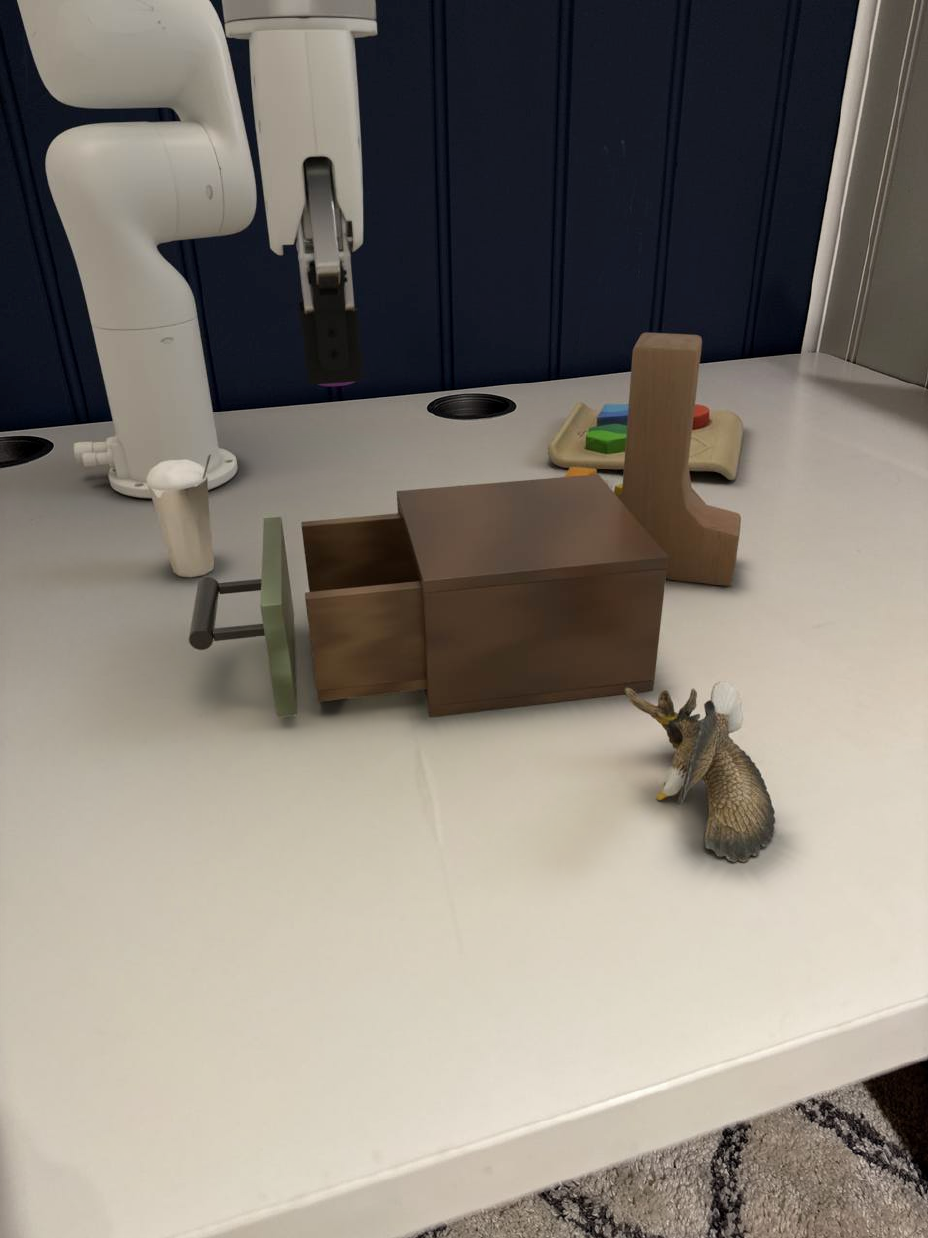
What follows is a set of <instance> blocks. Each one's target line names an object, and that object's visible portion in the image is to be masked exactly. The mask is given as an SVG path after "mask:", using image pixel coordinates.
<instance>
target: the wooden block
mask: <svg viewBox="0 0 928 1238" xmlns="http://www.w3.org/2000/svg"><path fill="white" fill-rule="evenodd" d="M702 346H703V339H702V336H700V335H698V334H686V333H685V334H684V333H665V332H643V333H641V334H640V336H639V337H638V339H637V341H636V342H635V345H634V347H633V349H632V354H631V367H630V368H631V369H630V383H629V395H628V404H629V407H628V420H627V433H626V446H625V460H624V469H623V475H622V484H623V486H622V500H621V502H622V503H623V504H624V505H625V506H626V508H627V509H628V510H629V511H630V512H631V513H632V515H633V516H634V517H635V518H636V519H637V521H638V522H639V523H640V524H641V525H642V527H643V528H644V529H645V530H646V531H647V532H648V534H649V535H650V536H651V537H652V538H653V540H654V541H655V542H656V543H657V544H658V545H659V547H660V548H661V549H662V550H663V551H664V553H665V554H666V555H667V556H668V562H667V568H666V569H667V571H666V580H673V581H681V582H690V583H699V584H708V585H715V586H716V585H717V586H725V587H727V586H731V585H732V584H733V582H734V576H735V569H736V562H737V556H738V549H739V543H740V536H741V535H740V534H741V523H742V521H741V520H742V517H741V514H740V513H738V512H735V511H731V510H728V509H724V508H720V507H716V506H713V505H709V504H707V503H706V502H705V501H704V499H703V498H702V497H701V496H700V495H699V494H698V493H697V492H696V491H695V490H694V489H693V487H692V481H691V475H690V474H691V473H690V471H689V468H688V461H689V452H690V444H691V435H692V426H693V417H694V408H695V404H696V398H697V388H698V382H699V374H700V373H699V372H700V363H701V355H702Z"/></svg>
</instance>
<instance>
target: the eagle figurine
mask: <svg viewBox="0 0 928 1238" xmlns="http://www.w3.org/2000/svg"><path fill="white" fill-rule="evenodd" d="M624 691H625V693H624V694H626V697H627V698H628V699H629V701H630V702H631V704H632V705H633V706H634V707H636V708H637V710H640V711H642V712H643V713H646V714H648V715H649V716H650V717H651V718H653V719H654V720H655V721H657V723H659V724H660V725H661V726H662V728H663V729H664V730H665V732H666V736H667V738H668V742H669V743H670V744H671V745H672V748H673V749H675V750H676V751H675V753H674V755H673V757H672V759H671V764H670V767H669V769H668V772H667V774H666V776H665V778H664V781H663V784H662V787H661V790H660V792H659V794H657V795H656V797H655V798H656V800H658V801H661V800H664V799H665V798H667V797H672V796H674V795H676V794H677V793H679V791H680V790H681V792H680V794H679V796H678V797H679V798H678V801H677V803H678V806H682V805H683V803H684V802H685V801H686V796H687V793H688V791H689V790H690V789H691V788H692V787H693V786H695V784H696V785H697V783H698V782H700V780H702V781H703V783H704V785H705V788H706V795H707V804H708V815H707V820H706V824H705V831H704V832H705V833H704V848H705V849H707V850H712V851H713V852H714V854H715V855H716V856H717V857H719V858H722V857H725V858H726V859H727V861H730V862H731V863H736V862H737V861H739V862H741V863H745V862H748V861H749V858H750V856H753V857H756V856H758V855H759V853H760V850H761V847H760V846H762V847H763V848H766V847H767V846H768V840H771V839H772V838H773V836H774V832H775V826H774V825H775V824H776V817H775V813H776V812H775V809H774V807H773V804H772V803H773V802H772V799H771V795H770V793H769V791H768V787H767V786H766V783H765V779H764V778H763V777H762V773H761V771H760V769H759V768H758V767H757V765H756V763H755V762H754V761H752V758H751V756H750V755H748V754H747V753H746V751H745V750H743V749H742V748H741V747H740V746H739V745H738V744H736V743H735V742H734V740H733V738H731V737H730V734H731V733H734V732H737V731H739V730H740V729H741V728H742V727H743V726H742V725H743V721H744V715H743V709H742V703H743V702H742V699H741V697H740V693H739V690H738V689H737V688H736V687H735V686H734V685H733V684H732V683H729V682H727V681H717V682H715V683H714V685H713V687H712V690H711V692H710V693H711V695H710V700H707V701H706V702H705V703H704V704H703V707H704V714H705V716H704V718H701V714H700V713H697V714H694V715H693V714H692V712H694V711H695V709H696V708H697V697H698V692H697V690H696V689H695V688H691V689H690V694H689V698H688V699H687V701H686V703H685V704H684V705H683V706H682V707H681V708H680V709H679V711H678V712H676V711H675V706H674V702H673V700H672V698H671V694H670V692H669V691H668V690H666V689H664V690H662V691H661V692H660V694H659V696H658V699H657V705H655V704H653V703H651V702H649V701H647V700H645V699H644V698H642V697H640V696H639V695H638V694H637V692H634V691H633V690H632V689H630V688H628V687H626V688H625V689H624ZM700 718H701V719H700Z"/></svg>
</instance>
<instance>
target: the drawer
mask: <svg viewBox="0 0 928 1238" xmlns="http://www.w3.org/2000/svg"><path fill="white" fill-rule="evenodd" d="M300 524H301V534H302V542H303V551H304V559H305V567H306V576H307V584H308V591H307V592H304V600H305V608H306V617H307V624H308V631H309V632H308V634H309V642H310V649H311V657H312V667H313V673H314V681H315V690H316V699H317V702H327V701H337V700H345V699H353V698H362V697H370V696H371V697H372V696H379V695H387V694H396V693H405V692H413V691H414V692H415V691H423V689H427V686H426V665H425V643H424V622H423V601H422V585H421V582H420V578H419V575H418V571H417V568H416V565H415V561H414V558H413V554H412V551H411V547H410V544H409V540H408V537H407V534H406V530H405V527H404V523H403V520H402V516H401V513H398V512H397V513H388V514H387V513H386V514H376V515H362V516H352V517H339V518H328V519H318V520H317V519H316V520H306V521H301V523H300ZM262 526H263V528H262V553H261V555H262V556H261V578H259V579H257V578H255V579H245V580H236V581H235V580H234V581H224V582H218V580H217V579H216V578H213V577H209V576H207V577H203V578H201V579H200V580H199V581H198V583H197V588H196V594H195V600H194V606H193V612H192V617H191V622H190V623H191V624H190V630H189V636H188V643H189V645H190V646H191V647H192V648H193V649H195V650H199V651H204V650H207V649H209V648H211V646H212V645H213V643H214V642H219V641H229V640H238V639H239V640H240V639H247V638H258V637H264V638H265V640H264V641H265V646H266V651H267V652H266V653H267V659H268V660H267V661H268V665H269V666H268V667H269V671H270V672H269V673H270V679H271V684H272V691H273V698H274V699H273V700H274V703H275V704H274V706H275V712H276V716H277V718H283V717H291V716H297V715H298V700H297V697H298V696H297V693H298V692H297V669H296V668H297V665H296V664H297V661H296V659H297V658H296V629H295V627H296V626H295V610H294V602H293V597H292V596H293V594H292V586H291V579H290V571H289V565H288V556H287V547H286V540H285V534H284V525H283V518H282V517H281V516H276V517H275V516H274V517H264V518H263V525H262ZM257 591H258V592H259V591H260V605H259V606H260V612H261V619H262V620H261V621H262V623H254V624H253V623H252V624H246V625H245V624H244V625H235V626H226V627H217V628H216V627H215V626H216V619H217V611H218V602H219V595H227V594H237V593H238V594H239V593H247V592H257Z"/></svg>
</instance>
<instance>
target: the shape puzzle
mask: <svg viewBox="0 0 928 1238" xmlns="http://www.w3.org/2000/svg"><path fill="white" fill-rule="evenodd" d="M628 407H629V403H625V404H624V403H606V404H604V405H603V406H602V408H601V410H597V409H593V408H591V407H589V406H588V405H586V404H585V402H581V401H580V402H577V404H576V405H575V406H574V408H573V409H572V411H570V414H569V415H568V417H567V418H566V420H564V422H563V424H562V425H561V427H560V428H559V430H558V431H557V433H556V434H555V435H554V437H553V438H552V440H551V441H550V442H549V444H548V446H547V454H548V458H549V459H550V461H551V462H552V464H554V465H556V466H558V467H560V468H564V469H568V470H567V471H566V473H565V475H564V476H563V477H572V476H584V475H595V474H597V473H598V470H624V460H625V446H626V433H627V420H628ZM743 433H744V421H743V420H742V419H741V418H740V416H739V415H738V414H736V413H735V412H732V411H729V410H710V408H709V407H707V406H705V405H702V404H697V403H695V408H694V417H693V426H692V435H691V444H690V452H689V461H688V468H689V472H716V473H718V474H720V475H722V476H723V477H724V478H726V479H727V480H728V481H733V480H735V479H736V477H737V474H738V473H737V472H738V467H739V466H738V465H739V459H740V454H741V449H742V448H741V447H742V442H743ZM622 486H623V483H620V484H617V485H614V491H613V492H614V493H615V495H616V496H617V497H618V498H619V499H620V500H622Z"/></svg>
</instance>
